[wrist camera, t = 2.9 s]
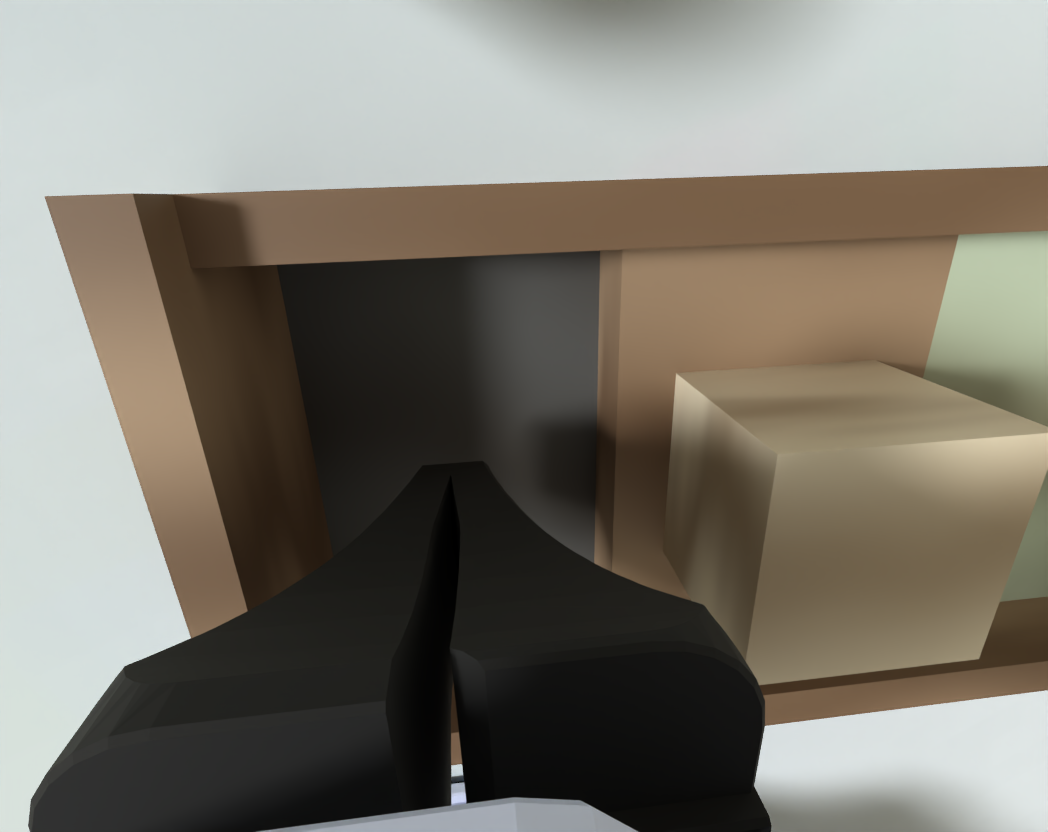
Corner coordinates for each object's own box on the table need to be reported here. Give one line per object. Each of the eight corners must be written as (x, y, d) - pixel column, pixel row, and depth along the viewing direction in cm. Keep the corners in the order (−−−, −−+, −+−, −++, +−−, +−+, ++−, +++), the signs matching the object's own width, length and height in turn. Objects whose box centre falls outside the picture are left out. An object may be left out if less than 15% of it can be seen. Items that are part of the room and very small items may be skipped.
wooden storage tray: (1047, 572, 18) (1254, 703, 13) (316, 648, 16) (257, 837, 11) (1206, 165, 13) (1608, 146, 9) (216, 197, 11) (44, 196, 7)
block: (837, 534, 14) (979, 658, 10) (662, 551, 13) (741, 687, 10) (875, 360, 12) (1061, 431, 8) (676, 373, 12) (777, 454, 8)
